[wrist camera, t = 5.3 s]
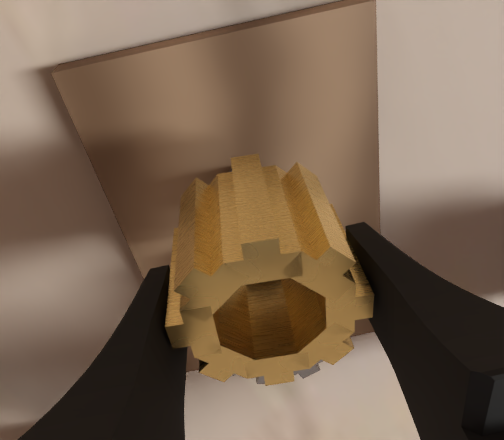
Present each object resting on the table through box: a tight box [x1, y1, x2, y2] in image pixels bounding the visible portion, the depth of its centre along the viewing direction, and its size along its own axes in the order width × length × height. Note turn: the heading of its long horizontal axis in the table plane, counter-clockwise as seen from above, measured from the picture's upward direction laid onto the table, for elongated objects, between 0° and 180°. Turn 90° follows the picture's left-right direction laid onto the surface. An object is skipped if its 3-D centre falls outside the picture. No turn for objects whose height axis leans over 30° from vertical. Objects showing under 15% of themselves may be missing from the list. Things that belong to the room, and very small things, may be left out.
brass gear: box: [165, 154, 374, 386], centre depth 14 cm, size 6×6×4 cm
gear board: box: [51, 0, 380, 372], centre depth 19 cm, size 12×18×6 cm, turn 11°
